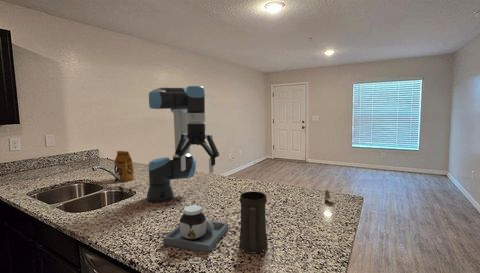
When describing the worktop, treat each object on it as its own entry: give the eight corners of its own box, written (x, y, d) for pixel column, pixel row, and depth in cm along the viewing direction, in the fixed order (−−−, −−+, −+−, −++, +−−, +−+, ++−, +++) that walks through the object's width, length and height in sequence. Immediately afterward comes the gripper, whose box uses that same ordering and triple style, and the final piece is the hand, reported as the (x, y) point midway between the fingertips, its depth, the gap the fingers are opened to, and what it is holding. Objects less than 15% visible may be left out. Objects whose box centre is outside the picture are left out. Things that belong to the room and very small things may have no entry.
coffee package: (125, 182, 184) (123, 152, 182) (113, 180, 190) (111, 151, 187) (136, 179, 193) (134, 150, 191) (125, 177, 198) (123, 149, 196)
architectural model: (331, 201, 143) (331, 188, 143) (331, 205, 137) (331, 192, 136) (325, 200, 144) (325, 188, 144) (324, 205, 138) (324, 191, 137)
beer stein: (237, 238, 101) (237, 190, 98) (264, 237, 102) (265, 189, 99) (241, 263, 86) (241, 208, 83) (272, 261, 87) (273, 206, 84)
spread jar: (177, 239, 100) (176, 210, 98) (191, 227, 110) (190, 200, 109) (205, 244, 96) (204, 214, 95) (217, 230, 107) (216, 203, 105)
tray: (163, 245, 97) (163, 237, 96) (188, 224, 115) (188, 217, 114) (209, 253, 91) (209, 245, 91) (228, 230, 109) (228, 223, 109)
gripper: (165, 122, 109) (167, 171, 112) (219, 124, 101) (220, 176, 104) (175, 121, 116) (177, 167, 119) (226, 123, 108) (226, 171, 111)
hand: (197, 171), depth 111 cm, fingers open, 13 cm apart
